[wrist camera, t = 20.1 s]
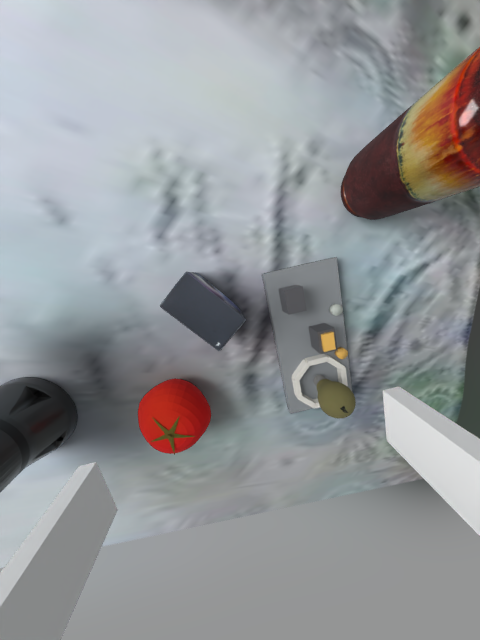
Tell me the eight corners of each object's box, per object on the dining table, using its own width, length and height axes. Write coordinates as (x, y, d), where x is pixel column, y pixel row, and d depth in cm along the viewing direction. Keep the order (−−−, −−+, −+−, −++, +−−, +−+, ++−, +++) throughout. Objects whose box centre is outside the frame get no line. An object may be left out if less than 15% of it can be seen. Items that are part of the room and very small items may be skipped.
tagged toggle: (311, 346, 41) (321, 355, 37) (308, 326, 40) (318, 332, 36) (327, 343, 41) (339, 351, 37) (324, 322, 40) (336, 328, 36)
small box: (242, 307, 41) (249, 319, 31) (220, 334, 42) (219, 354, 31) (196, 269, 39) (187, 269, 29) (173, 298, 40) (157, 308, 29)
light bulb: (298, 386, 43) (321, 419, 33) (311, 361, 42) (338, 388, 32) (323, 395, 44) (352, 431, 34) (336, 371, 43) (370, 400, 33)
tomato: (182, 434, 45) (170, 481, 35) (137, 395, 43) (110, 434, 33) (222, 399, 45) (222, 437, 34) (178, 358, 42) (165, 386, 32)
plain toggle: (282, 310, 39) (288, 314, 36) (278, 288, 38) (284, 290, 35) (298, 306, 39) (306, 310, 36) (295, 284, 38) (302, 286, 35)
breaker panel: (287, 407, 46) (293, 418, 43) (261, 273, 40) (265, 274, 36) (347, 392, 46) (357, 402, 43) (331, 257, 40) (341, 256, 37)
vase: (373, 137, 36) (722, -173, 11) (407, 192, 39) (761, 42, 13) (321, 186, 37) (533, 5, 12) (358, 237, 40) (601, 176, 14)
